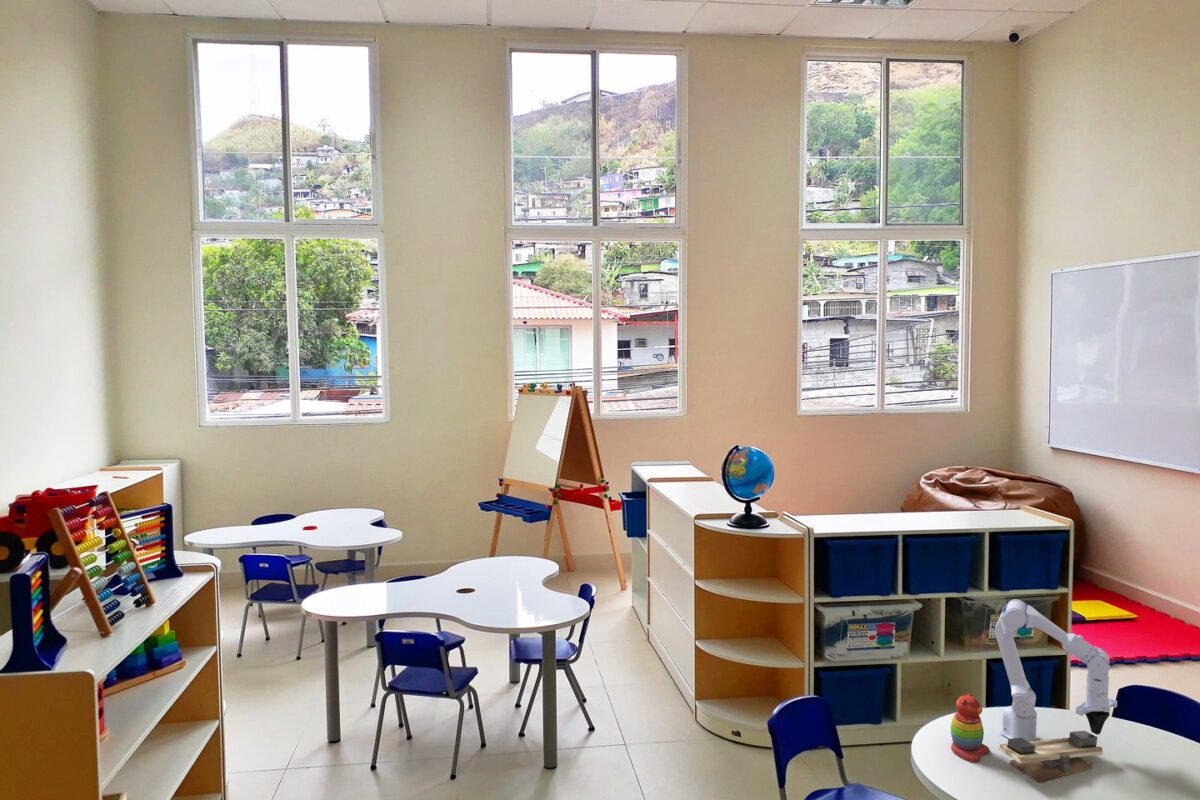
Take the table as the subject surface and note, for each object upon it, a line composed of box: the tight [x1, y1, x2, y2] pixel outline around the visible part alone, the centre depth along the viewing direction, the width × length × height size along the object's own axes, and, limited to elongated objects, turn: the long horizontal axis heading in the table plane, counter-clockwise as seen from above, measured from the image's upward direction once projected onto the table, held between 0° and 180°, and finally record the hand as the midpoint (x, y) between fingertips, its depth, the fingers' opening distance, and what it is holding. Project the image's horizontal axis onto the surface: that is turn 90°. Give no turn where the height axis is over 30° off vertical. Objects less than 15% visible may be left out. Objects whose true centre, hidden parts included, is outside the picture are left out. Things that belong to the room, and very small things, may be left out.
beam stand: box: [1009, 737, 1093, 784], centre depth 253 cm, size 11×20×6 cm, turn 110°
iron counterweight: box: [1007, 738, 1035, 755], centre depth 248 cm, size 5×5×3 cm
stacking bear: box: [950, 693, 991, 763], centre depth 262 cm, size 11×10×18 cm
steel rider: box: [1068, 730, 1098, 749], centre depth 257 cm, size 4×6×4 cm
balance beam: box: [998, 737, 1104, 763], centre depth 253 cm, size 8×32×2 cm, turn 110°
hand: (1095, 732), depth 258 cm, fingers closed
